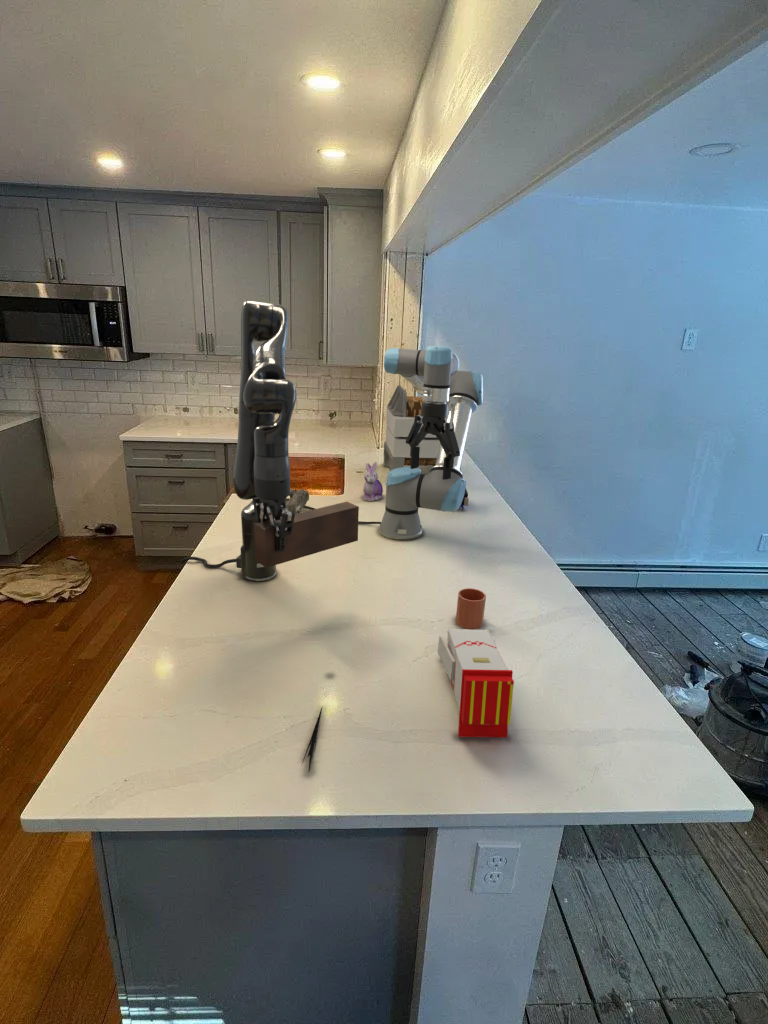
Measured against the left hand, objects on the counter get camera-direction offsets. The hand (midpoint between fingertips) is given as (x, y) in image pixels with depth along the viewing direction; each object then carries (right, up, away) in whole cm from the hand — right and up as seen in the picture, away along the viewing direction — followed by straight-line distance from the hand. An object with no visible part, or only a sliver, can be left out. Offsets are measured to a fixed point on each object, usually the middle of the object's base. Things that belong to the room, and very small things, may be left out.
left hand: (274, 547), depth 127 cm
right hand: (+38, +19, +43) cm, 61 cm away
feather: (+12, -32, -18) cm, 39 cm away
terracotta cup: (+46, -20, +18) cm, 54 cm away
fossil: (-10, +6, +85) cm, 86 cm away
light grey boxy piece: (+42, +27, +148) cm, 156 cm away
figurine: (+20, +14, +109) cm, 112 cm away
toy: (+43, -30, -8) cm, 53 cm away
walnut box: (+7, -1, +7) cm, 10 cm away
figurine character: (+55, +10, +104) cm, 118 cm away
